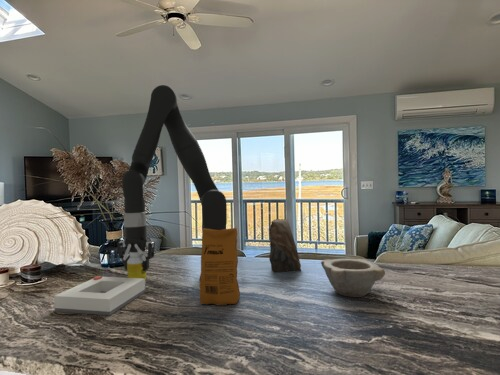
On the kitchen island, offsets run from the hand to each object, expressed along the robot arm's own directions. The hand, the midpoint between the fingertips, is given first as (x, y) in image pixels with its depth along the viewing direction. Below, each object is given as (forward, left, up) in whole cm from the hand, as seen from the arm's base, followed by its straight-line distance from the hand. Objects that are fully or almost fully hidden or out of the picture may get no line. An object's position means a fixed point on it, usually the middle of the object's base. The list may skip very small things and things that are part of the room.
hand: (136, 270), depth 110 cm
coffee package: (-35, +11, -5) cm, 37 cm away
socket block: (+1, +17, -5) cm, 18 cm away
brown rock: (-52, -24, -5) cm, 58 cm away
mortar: (-75, -1, -5) cm, 75 cm away
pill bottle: (0, 0, -5) cm, 5 cm away
